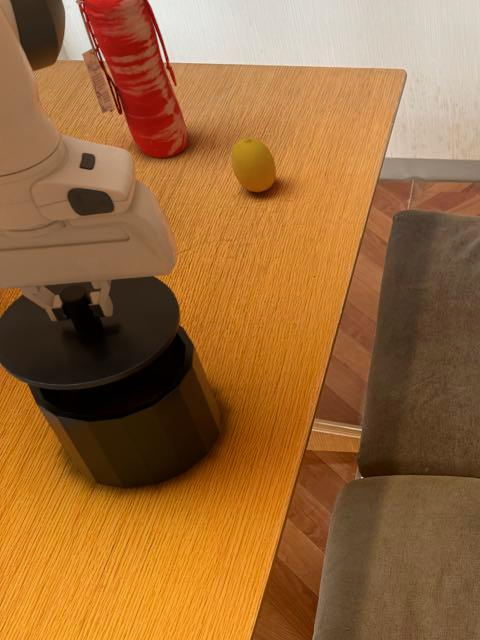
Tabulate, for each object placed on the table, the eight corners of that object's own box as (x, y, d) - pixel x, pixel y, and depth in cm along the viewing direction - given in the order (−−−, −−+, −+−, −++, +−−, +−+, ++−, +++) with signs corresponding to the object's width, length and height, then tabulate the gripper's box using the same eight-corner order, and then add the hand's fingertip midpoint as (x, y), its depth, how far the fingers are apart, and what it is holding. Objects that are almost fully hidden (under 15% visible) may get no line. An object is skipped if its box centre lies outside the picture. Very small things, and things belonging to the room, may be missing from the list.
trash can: (64, 500, 92) (17, 430, 83) (81, 393, 101) (41, 320, 92) (219, 480, 93) (189, 410, 85) (223, 377, 102) (196, 304, 94)
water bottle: (107, 166, 127) (27, -27, 106) (119, 136, 131) (45, -55, 111) (193, 165, 127) (130, -28, 107) (202, 134, 132) (143, -56, 112)
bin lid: (-17, 404, 79) (-44, 364, 75) (14, 284, 89) (-9, 244, 85) (177, 384, 81) (161, 345, 77) (187, 269, 91) (173, 230, 87)
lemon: (256, 177, 126) (242, 122, 119) (289, 187, 124) (276, 133, 118) (232, 197, 123) (216, 142, 116) (265, 208, 121) (250, 153, 115)
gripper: (-131, 213, 69) (-42, 348, 80) (143, 192, 72) (193, 326, 83) (-111, 167, 73) (-28, 303, 84) (149, 149, 75) (196, 283, 86)
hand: (83, 314), depth 83 cm, fingers closed on bin lid, 2 cm apart
